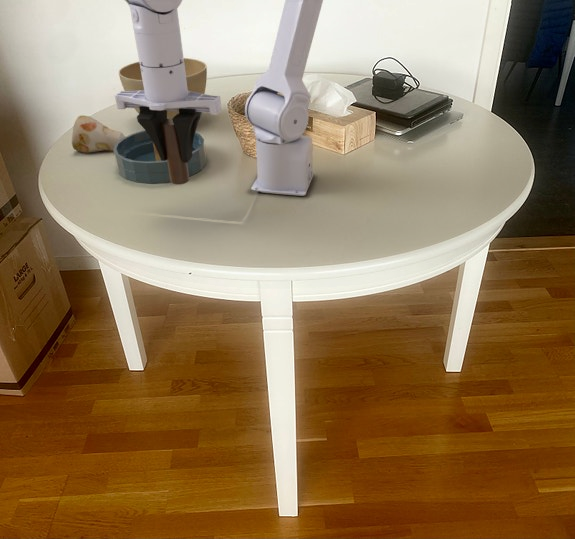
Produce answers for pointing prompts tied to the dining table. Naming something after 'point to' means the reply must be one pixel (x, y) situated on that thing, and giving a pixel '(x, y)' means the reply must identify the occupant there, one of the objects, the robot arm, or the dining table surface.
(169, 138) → the stick
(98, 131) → the cream tapered piece
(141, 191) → the dining table surface
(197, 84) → the flower pot
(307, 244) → the dining table surface
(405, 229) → the dining table surface
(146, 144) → the bowl
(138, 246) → the dining table surface
